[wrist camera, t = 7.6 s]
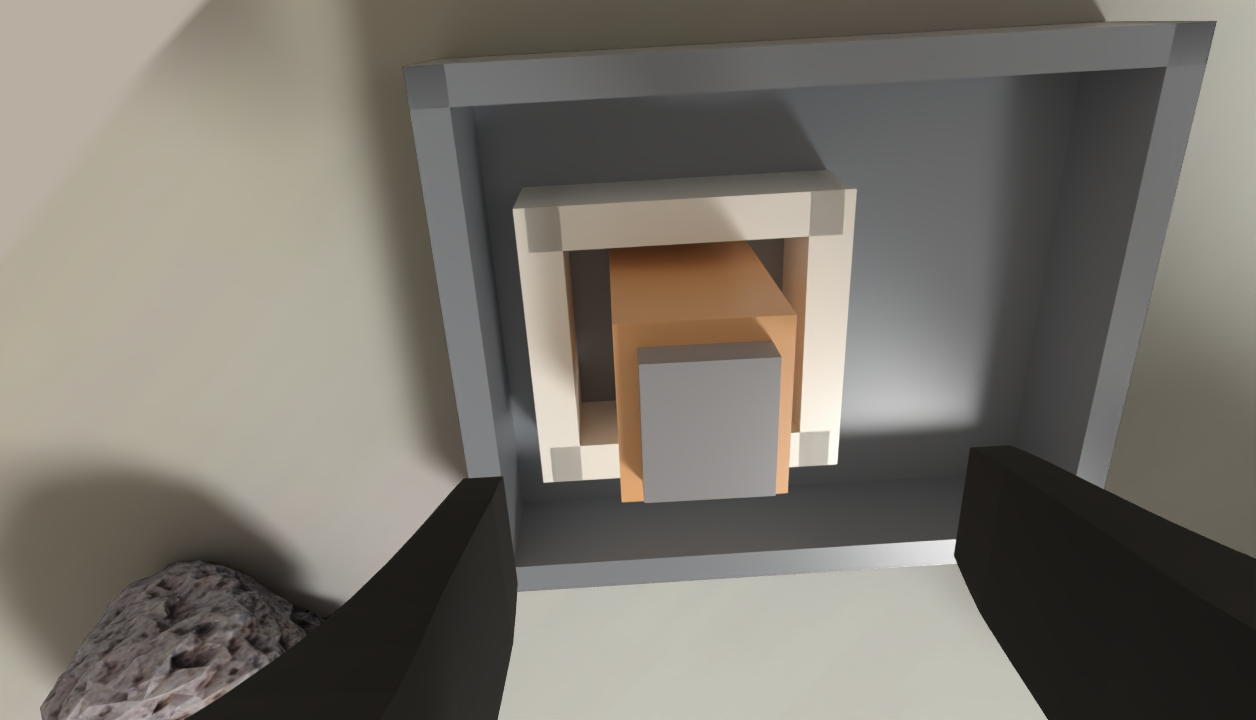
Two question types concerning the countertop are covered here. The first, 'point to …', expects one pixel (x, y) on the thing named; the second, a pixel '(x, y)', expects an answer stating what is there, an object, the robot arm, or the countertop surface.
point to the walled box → (806, 269)
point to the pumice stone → (176, 645)
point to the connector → (701, 372)
